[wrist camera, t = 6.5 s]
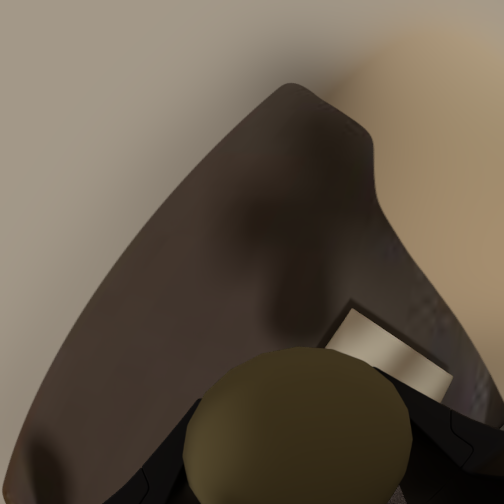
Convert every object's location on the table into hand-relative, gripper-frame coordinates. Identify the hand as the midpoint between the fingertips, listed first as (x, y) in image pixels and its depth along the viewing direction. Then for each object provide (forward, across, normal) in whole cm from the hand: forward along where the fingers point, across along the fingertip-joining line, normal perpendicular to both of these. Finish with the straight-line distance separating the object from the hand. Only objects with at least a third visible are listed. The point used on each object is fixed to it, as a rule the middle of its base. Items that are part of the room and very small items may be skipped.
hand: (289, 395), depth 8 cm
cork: (+4, 0, +6) cm, 7 cm away
